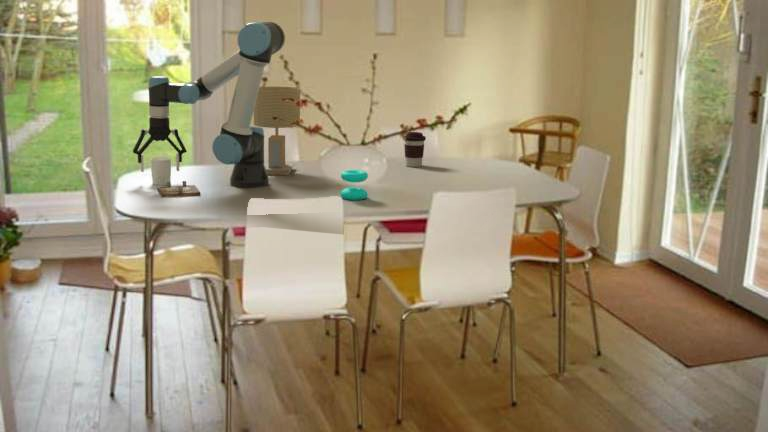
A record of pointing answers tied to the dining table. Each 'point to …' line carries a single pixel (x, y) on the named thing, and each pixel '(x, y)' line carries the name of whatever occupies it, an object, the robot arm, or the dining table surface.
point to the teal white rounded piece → (354, 192)
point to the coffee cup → (414, 149)
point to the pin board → (178, 190)
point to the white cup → (161, 170)
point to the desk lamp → (276, 123)
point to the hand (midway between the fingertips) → (160, 170)
